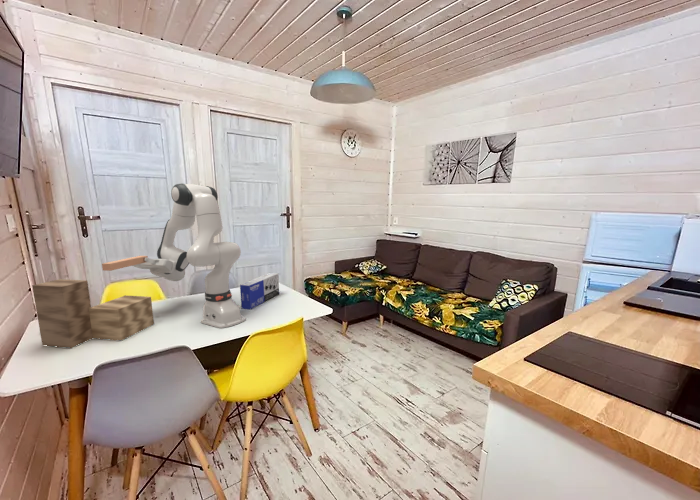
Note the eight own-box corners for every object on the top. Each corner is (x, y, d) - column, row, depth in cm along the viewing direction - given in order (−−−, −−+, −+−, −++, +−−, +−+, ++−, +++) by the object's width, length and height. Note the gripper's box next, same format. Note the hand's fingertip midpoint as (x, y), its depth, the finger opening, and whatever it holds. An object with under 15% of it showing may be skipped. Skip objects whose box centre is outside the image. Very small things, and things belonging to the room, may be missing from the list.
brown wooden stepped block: (104, 321, 151) (97, 270, 147) (153, 324, 147) (148, 272, 143) (42, 346, 124) (32, 285, 120) (101, 350, 120) (92, 288, 116)
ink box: (271, 293, 197) (270, 272, 195) (279, 294, 195) (279, 273, 193) (240, 308, 169) (239, 284, 167) (250, 309, 167) (249, 285, 165)
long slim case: (141, 261, 149) (140, 255, 149) (148, 261, 149) (147, 255, 148) (102, 270, 130) (101, 263, 129) (110, 270, 129) (110, 263, 129)
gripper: (144, 261, 161) (123, 252, 148) (178, 262, 158) (160, 253, 146) (140, 272, 159) (118, 264, 146) (175, 273, 156) (156, 265, 143)
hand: (139, 258), depth 146 cm, fingers closed on long slim case, 4 cm apart
